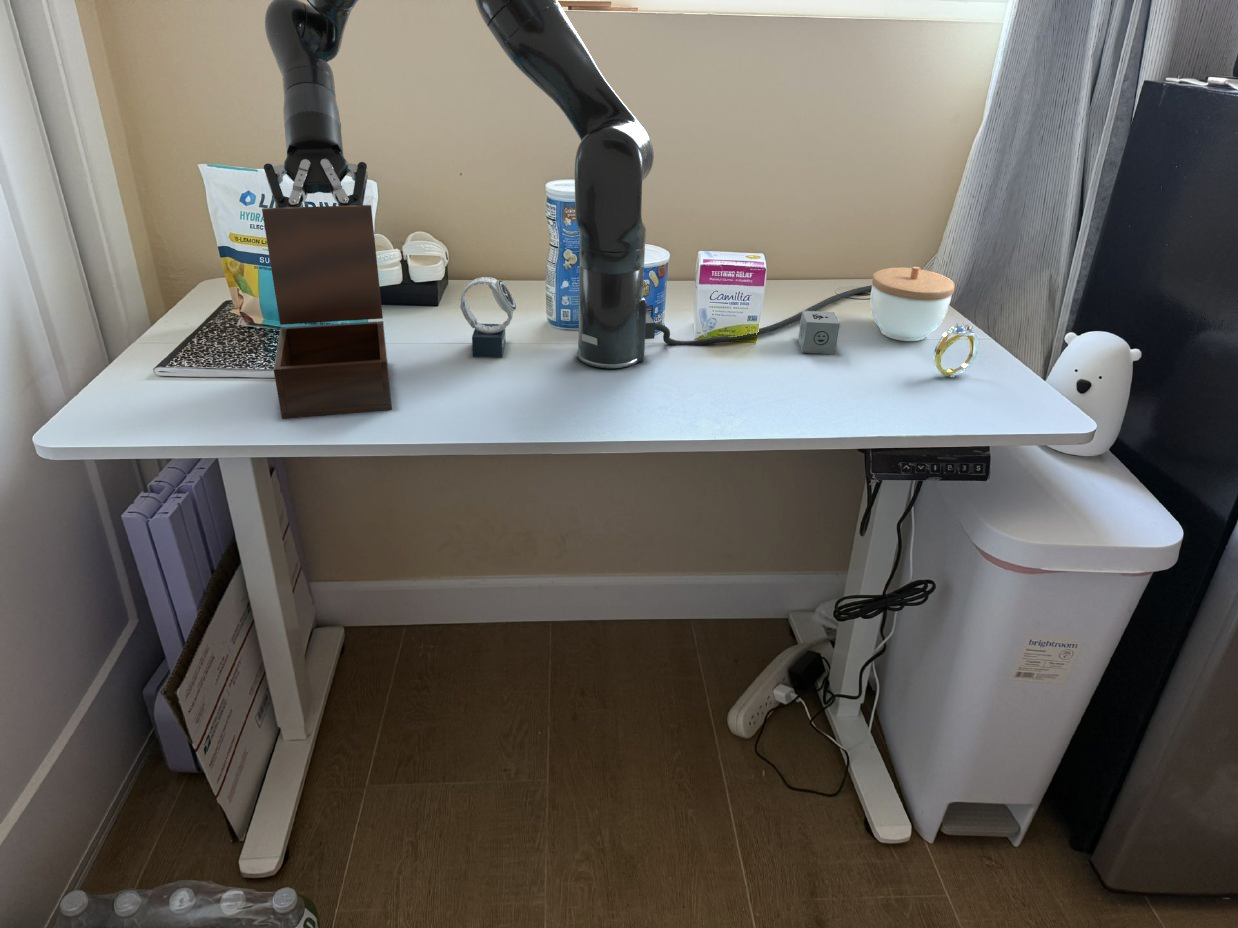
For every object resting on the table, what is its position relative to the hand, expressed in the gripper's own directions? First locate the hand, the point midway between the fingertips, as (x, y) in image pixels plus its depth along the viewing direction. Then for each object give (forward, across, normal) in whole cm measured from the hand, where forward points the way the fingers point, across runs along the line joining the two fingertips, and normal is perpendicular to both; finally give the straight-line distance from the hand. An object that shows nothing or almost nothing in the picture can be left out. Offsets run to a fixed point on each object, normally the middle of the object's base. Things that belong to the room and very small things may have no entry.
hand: (322, 232), depth 121 cm
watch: (+13, +22, +13) cm, 29 cm away
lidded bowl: (+17, +89, +9) cm, 91 cm away
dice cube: (+20, +72, +7) cm, 75 cm away
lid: (+5, 0, 0) cm, 5 cm away
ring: (+30, +87, -3) cm, 92 cm away
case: (+21, 0, +6) cm, 22 cm away
